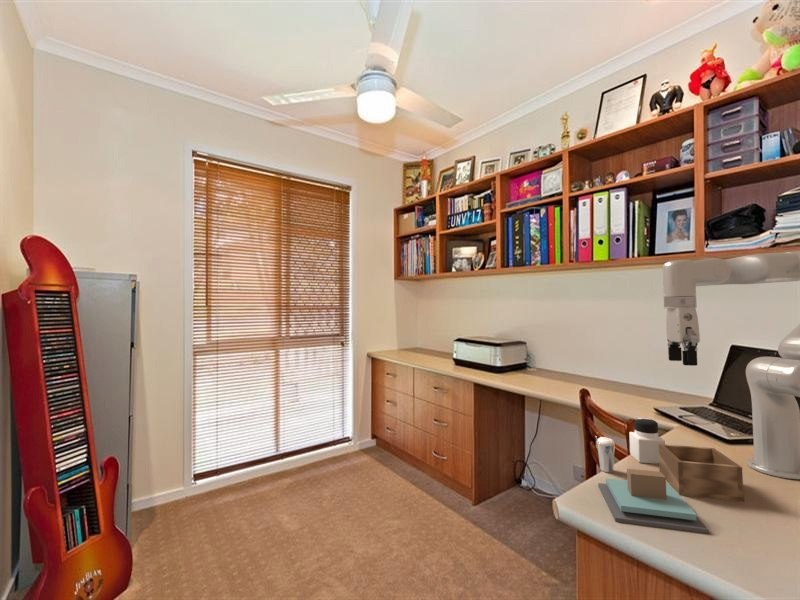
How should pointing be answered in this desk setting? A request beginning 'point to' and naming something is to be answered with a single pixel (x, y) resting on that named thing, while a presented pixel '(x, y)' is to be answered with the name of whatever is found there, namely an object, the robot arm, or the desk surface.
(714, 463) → the storage box
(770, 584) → the desk surface
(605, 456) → the milkshake
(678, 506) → the lid
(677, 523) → the desk mat
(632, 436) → the medicine bottle
